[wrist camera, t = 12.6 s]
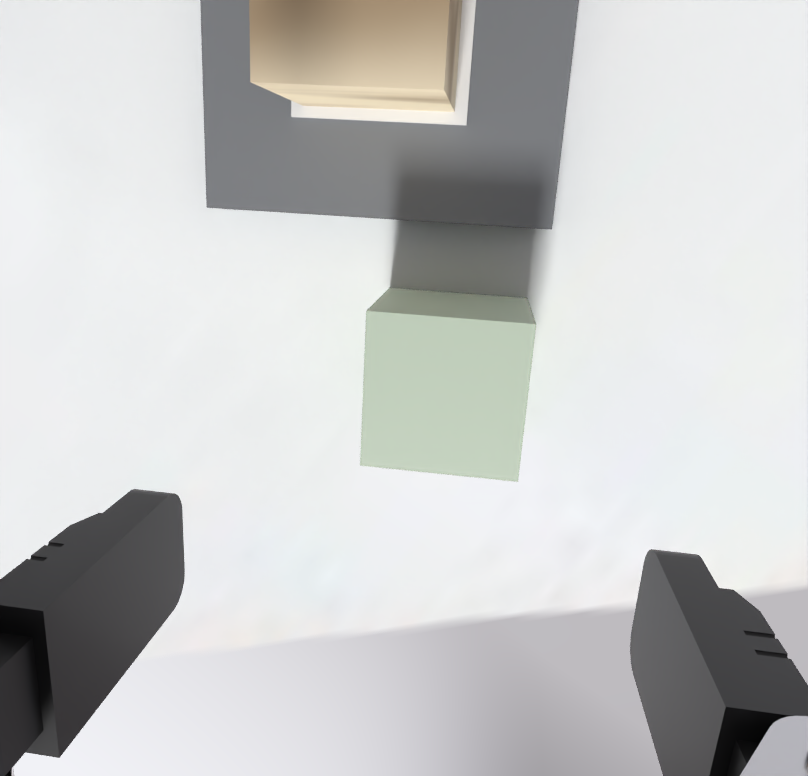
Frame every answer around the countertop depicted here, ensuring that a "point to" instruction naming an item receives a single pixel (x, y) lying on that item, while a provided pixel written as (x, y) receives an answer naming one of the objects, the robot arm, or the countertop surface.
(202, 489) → the countertop surface
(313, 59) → the beech block
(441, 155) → the board
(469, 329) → the sage block
